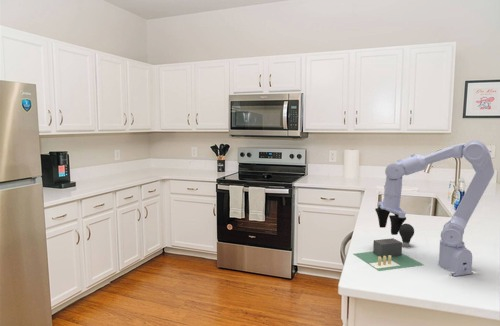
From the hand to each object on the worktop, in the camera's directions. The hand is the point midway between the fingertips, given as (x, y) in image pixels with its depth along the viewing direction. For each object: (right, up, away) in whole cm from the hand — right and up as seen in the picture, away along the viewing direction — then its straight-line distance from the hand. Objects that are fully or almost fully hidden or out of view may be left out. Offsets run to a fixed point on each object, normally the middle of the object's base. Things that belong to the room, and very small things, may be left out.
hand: (388, 230), depth 129 cm
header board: (-2, -10, -4) cm, 11 cm away
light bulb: (+11, -9, +9) cm, 17 cm away
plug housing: (0, -9, 0) cm, 9 cm away
